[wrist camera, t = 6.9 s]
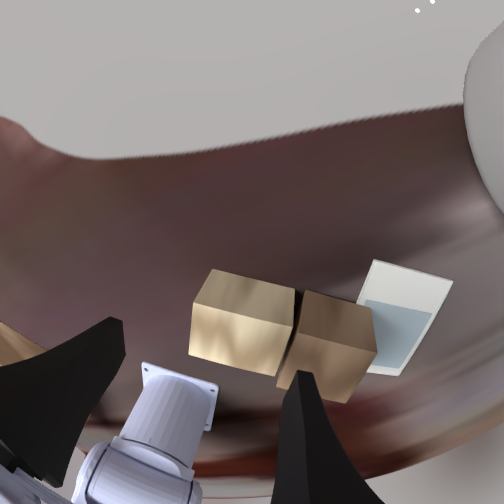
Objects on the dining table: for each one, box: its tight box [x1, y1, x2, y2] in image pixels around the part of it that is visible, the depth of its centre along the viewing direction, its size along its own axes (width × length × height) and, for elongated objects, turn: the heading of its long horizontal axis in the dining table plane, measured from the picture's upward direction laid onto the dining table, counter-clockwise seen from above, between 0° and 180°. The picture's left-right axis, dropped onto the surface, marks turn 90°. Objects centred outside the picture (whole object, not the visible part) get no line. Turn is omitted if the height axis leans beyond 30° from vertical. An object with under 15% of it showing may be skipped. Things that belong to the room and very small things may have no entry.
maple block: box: [189, 269, 295, 376], centre depth 20 cm, size 4×4×6 cm
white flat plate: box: [356, 259, 453, 376], centre depth 21 cm, size 10×7×1 cm
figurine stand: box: [0, 322, 91, 426], centre depth 30 cm, size 12×16×6 cm
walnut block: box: [276, 290, 378, 403], centre depth 19 cm, size 5×5×5 cm
